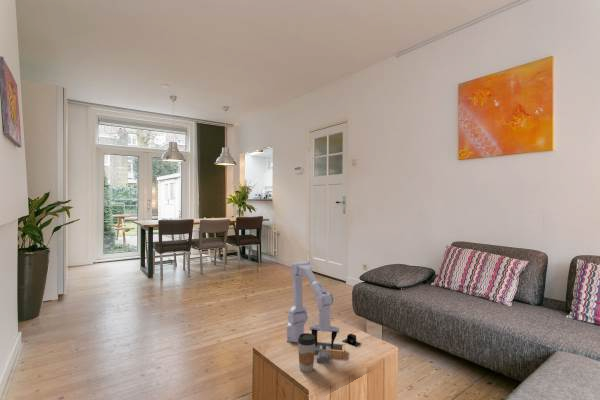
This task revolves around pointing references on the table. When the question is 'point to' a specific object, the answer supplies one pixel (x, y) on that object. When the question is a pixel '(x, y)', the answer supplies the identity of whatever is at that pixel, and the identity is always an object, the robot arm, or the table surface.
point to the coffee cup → (306, 351)
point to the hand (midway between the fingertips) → (324, 345)
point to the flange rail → (332, 349)
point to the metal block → (323, 351)
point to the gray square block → (324, 359)
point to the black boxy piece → (351, 340)
